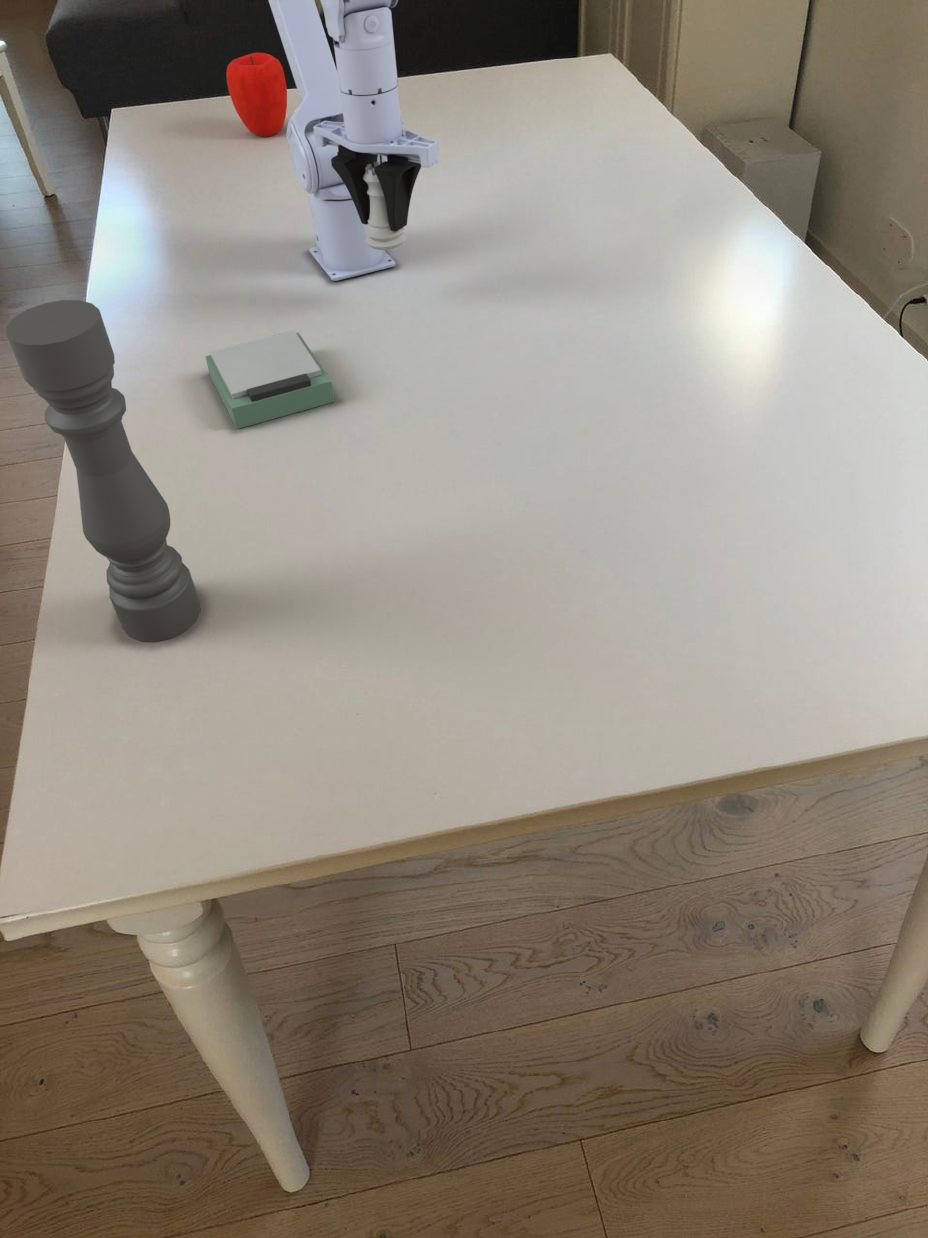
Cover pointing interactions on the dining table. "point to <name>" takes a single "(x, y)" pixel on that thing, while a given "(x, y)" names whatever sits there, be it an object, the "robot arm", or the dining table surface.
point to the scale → (269, 378)
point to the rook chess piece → (379, 216)
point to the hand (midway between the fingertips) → (384, 224)
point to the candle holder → (106, 466)
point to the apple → (258, 92)
